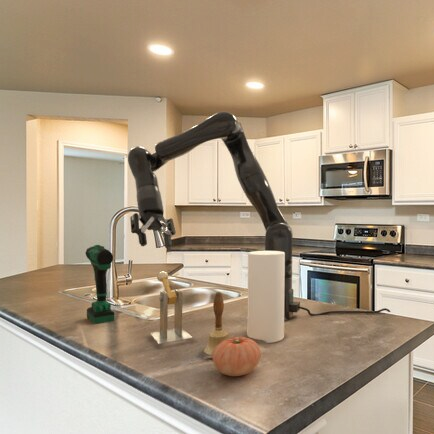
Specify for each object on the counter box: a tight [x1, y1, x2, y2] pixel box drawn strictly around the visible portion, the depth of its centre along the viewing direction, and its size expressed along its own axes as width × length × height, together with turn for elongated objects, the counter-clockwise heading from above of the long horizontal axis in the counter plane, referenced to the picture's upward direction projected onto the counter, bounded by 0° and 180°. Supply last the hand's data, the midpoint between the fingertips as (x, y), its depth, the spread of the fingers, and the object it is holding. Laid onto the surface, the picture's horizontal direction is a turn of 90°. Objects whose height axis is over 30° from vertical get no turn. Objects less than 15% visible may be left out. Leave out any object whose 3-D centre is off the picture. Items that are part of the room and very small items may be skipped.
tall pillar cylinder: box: [246, 250, 285, 344], centre depth 112 cm, size 11×11×25 cm
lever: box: [156, 270, 177, 305], centre depth 113 cm, size 14×3×3 cm, turn 36°
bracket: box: [149, 288, 193, 345], centre depth 109 cm, size 11×9×14 cm
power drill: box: [85, 244, 115, 325], centre depth 132 cm, size 6×29×25 cm, turn 41°
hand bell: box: [203, 291, 229, 361], centre depth 99 cm, size 8×8×16 cm
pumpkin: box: [212, 336, 262, 377], centre depth 87 cm, size 11×11×8 cm
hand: (156, 246), depth 122 cm, fingers open, 8 cm apart
